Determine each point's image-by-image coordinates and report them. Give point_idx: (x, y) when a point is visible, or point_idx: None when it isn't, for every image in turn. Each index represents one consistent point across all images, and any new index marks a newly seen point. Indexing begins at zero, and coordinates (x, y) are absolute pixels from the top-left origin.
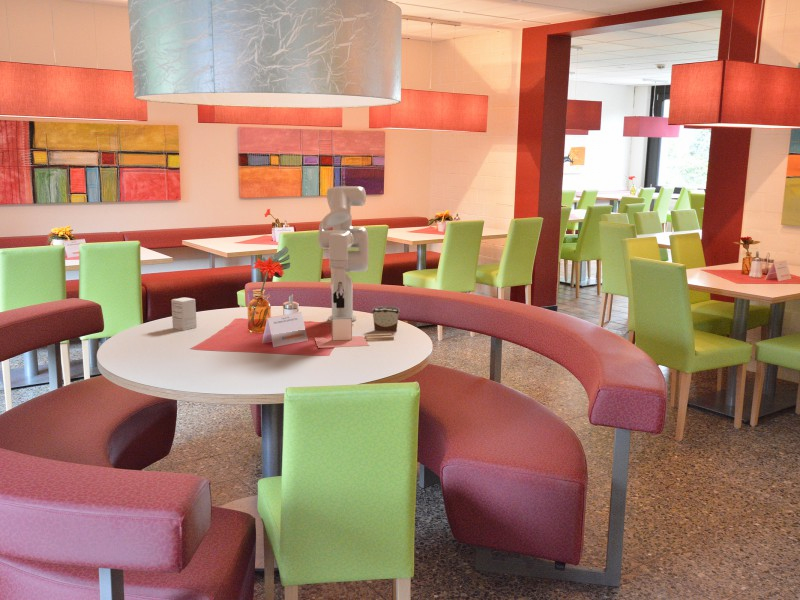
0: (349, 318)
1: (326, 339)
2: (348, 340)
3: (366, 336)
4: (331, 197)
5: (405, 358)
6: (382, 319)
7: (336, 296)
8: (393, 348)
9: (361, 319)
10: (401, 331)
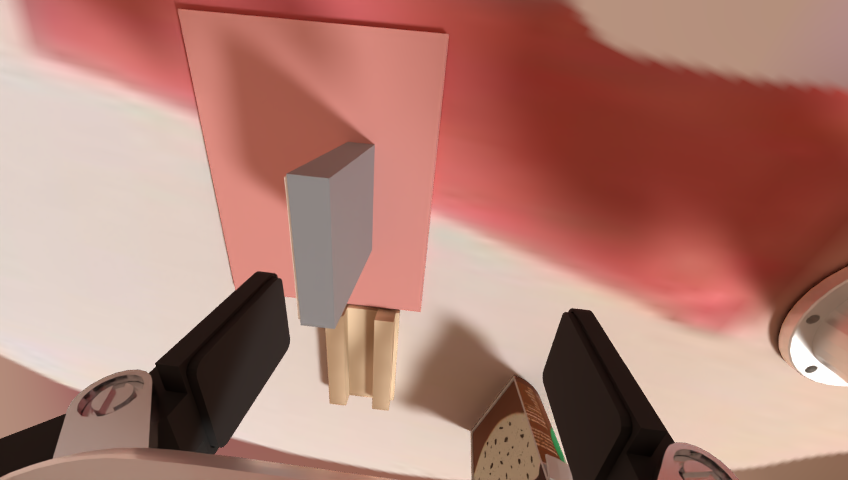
0: (299, 309)
1: (384, 112)
2: None
3: (375, 320)
4: None
5: (71, 350)
6: (507, 452)
7: (586, 411)
8: None
9: (792, 392)
10: None
